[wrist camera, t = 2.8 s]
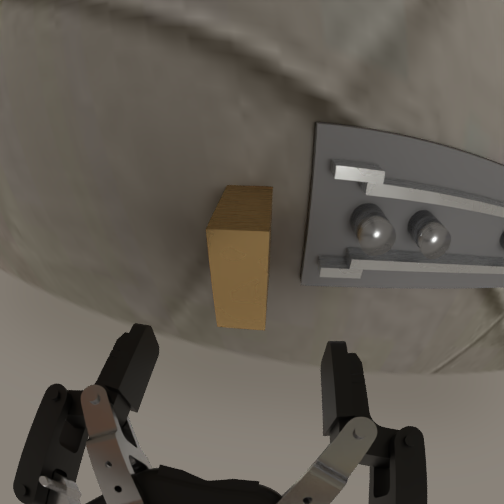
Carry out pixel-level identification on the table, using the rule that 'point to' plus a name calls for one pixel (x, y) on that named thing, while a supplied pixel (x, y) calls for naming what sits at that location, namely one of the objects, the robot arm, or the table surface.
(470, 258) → the grey studded track end
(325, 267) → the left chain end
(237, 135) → the table surface
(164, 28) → the table surface
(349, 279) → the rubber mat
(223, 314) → the tall wooden block
